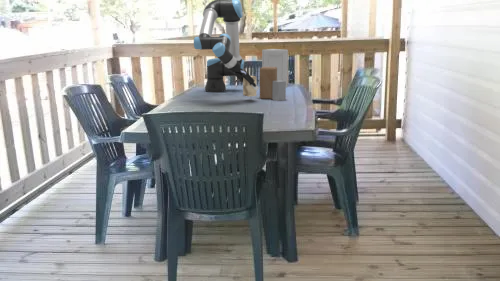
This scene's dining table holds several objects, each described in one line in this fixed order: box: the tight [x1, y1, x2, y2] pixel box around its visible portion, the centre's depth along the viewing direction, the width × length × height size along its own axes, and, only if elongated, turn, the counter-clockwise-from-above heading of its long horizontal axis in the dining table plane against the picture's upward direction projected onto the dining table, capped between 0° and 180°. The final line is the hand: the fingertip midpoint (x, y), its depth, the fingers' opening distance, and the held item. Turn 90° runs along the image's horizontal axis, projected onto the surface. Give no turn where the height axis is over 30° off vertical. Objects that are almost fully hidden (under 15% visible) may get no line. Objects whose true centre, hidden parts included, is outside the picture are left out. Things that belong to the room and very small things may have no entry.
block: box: [259, 66, 277, 100], centre depth 297 cm, size 10×10×20 cm
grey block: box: [271, 80, 287, 102], centre depth 290 cm, size 6×6×12 cm
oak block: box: [242, 75, 257, 98], centre depth 286 cm, size 6×6×12 cm
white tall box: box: [261, 48, 289, 88], centre depth 351 cm, size 19×15×28 cm
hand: (254, 88), depth 288 cm, fingers closed on oak block, 6 cm apart
